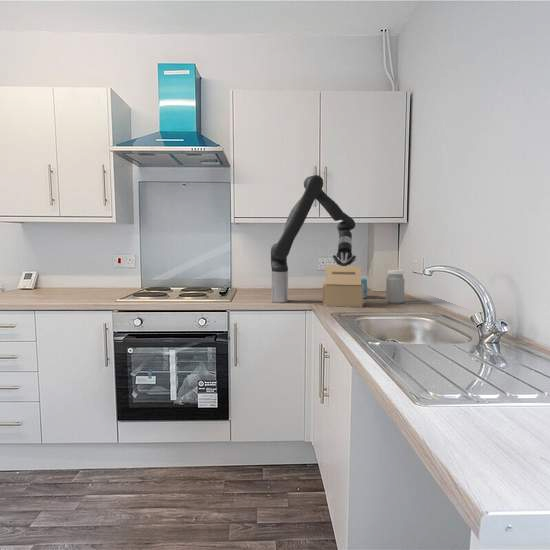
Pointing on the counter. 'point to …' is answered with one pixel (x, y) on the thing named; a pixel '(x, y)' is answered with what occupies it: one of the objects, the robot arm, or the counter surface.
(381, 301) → the counter surface
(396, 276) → the jar
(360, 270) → the flap
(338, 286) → the carton
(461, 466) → the counter surface
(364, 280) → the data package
